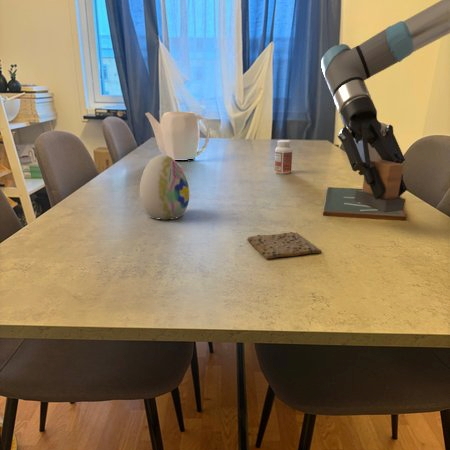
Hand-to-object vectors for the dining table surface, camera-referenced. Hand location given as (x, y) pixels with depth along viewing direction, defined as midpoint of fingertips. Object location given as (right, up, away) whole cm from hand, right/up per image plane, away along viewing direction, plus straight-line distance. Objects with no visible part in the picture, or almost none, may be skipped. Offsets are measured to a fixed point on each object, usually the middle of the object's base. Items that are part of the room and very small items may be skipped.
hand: (391, 194), depth 93 cm
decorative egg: (-51, -1, +17) cm, 54 cm away
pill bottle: (-15, +24, +66) cm, 72 cm away
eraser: (-1, -1, +5) cm, 5 cm away
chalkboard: (+2, +4, +26) cm, 27 cm away
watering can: (-56, +38, +93) cm, 114 cm away
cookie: (-24, -12, -3) cm, 27 cm away
